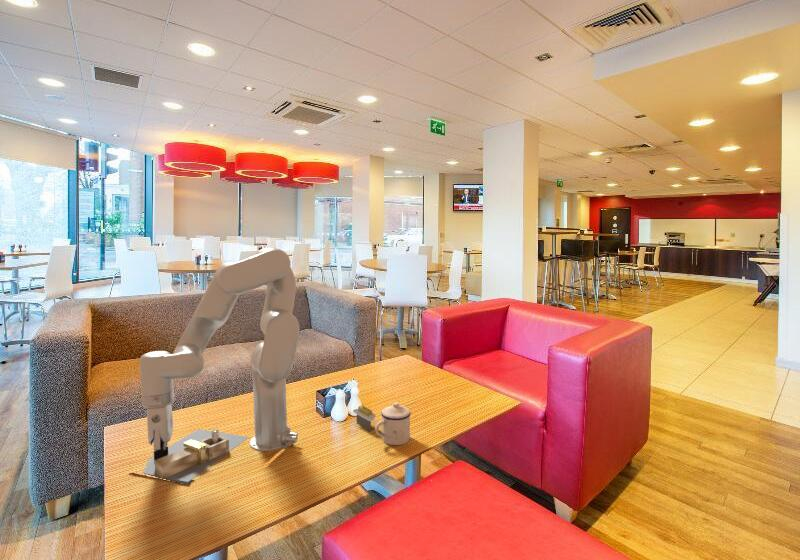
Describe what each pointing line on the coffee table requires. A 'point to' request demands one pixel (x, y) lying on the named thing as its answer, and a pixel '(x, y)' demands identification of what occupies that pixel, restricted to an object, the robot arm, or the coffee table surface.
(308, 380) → the coffee table surface
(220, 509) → the coffee table surface
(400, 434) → the teacup with lid
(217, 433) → the pintle
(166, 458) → the link
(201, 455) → the keeper
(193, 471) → the board
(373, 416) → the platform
